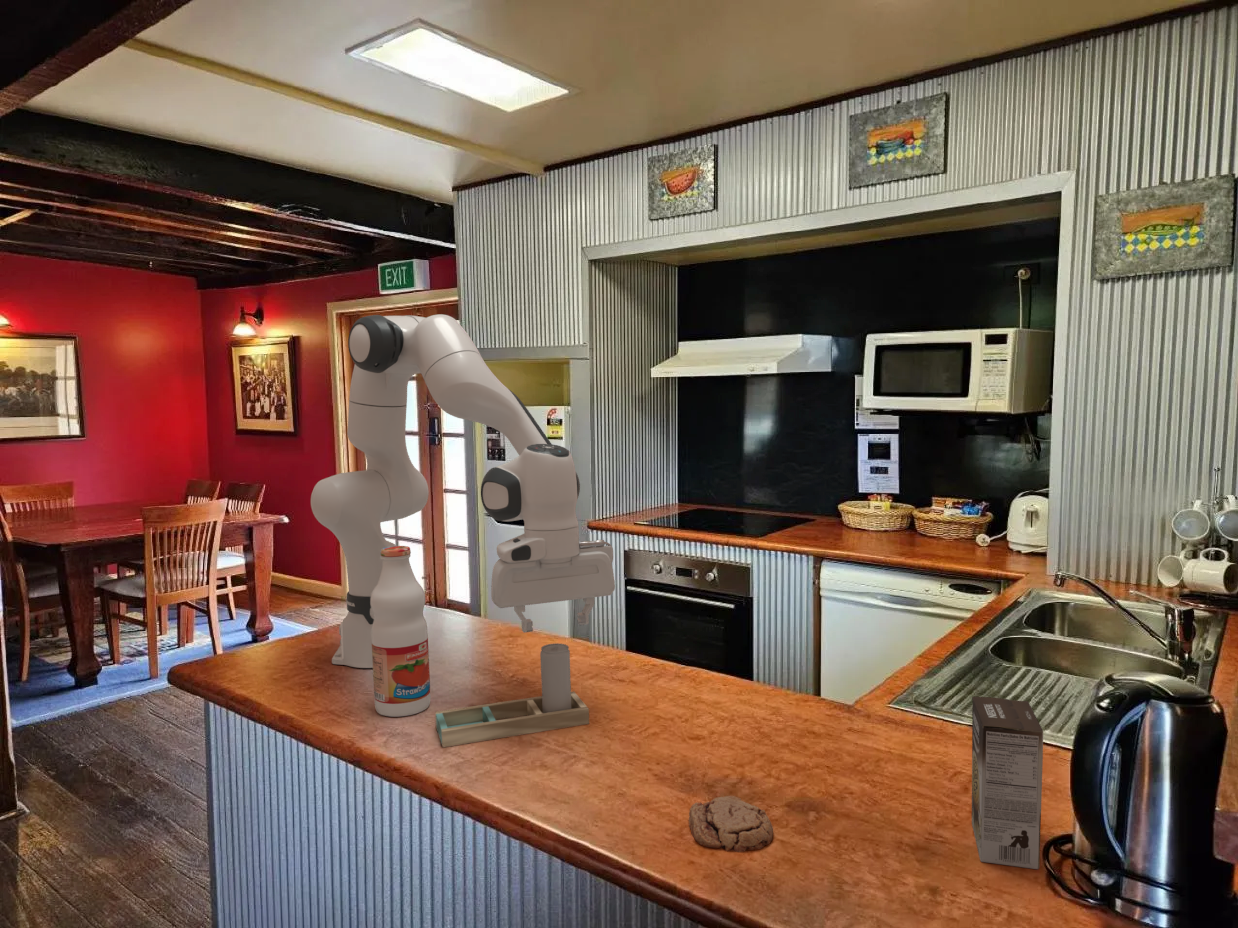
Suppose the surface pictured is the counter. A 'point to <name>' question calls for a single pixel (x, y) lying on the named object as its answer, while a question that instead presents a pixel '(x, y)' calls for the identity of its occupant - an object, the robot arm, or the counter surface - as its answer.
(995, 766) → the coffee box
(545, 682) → the beverage can
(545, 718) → the rack
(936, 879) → the counter surface
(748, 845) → the cookie
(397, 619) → the fruit juice
